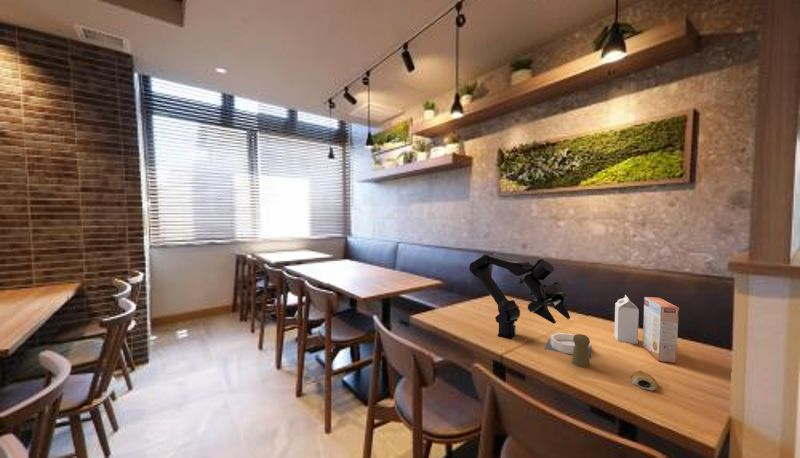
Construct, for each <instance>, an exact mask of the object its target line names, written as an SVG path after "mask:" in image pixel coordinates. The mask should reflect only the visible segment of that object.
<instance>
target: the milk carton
mask: <svg viewBox="0 0 800 458" xmlns="http://www.w3.org/2000/svg"><path fill="white" fill-rule="evenodd" d="M614 305H615V306H614V338H615V339H616V341H617V342H623V343H629V344H630V345H631V344H632V345H638V343H639V342H638V341H639V339H638V338H639V317H640V316H639V313H640V312H639V311H640V310H639V308H638V307H637V305H636V304H634V303H633V302H632V301H631V300H630V298H629V297H628V296H627V295H626V294H624V297H623V298H619V299H618V300H617V302H615V303H614Z"/></svg>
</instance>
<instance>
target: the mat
mask: <svg viewBox="0 0 800 458" xmlns="http://www.w3.org/2000/svg"><path fill="white" fill-rule="evenodd" d="M550 338H551V337H550ZM550 338H548V340H547V341H546V342H547V343H546V344H545V347H544V350H546V351H551V352H556V353H560V354H561V353H562V352H559V351H557V350H555V349H553V348H552V347H551V343H550ZM592 348H593V346H592V345H590V344H589V345H588V351H589V359H592V351H593V349H592ZM562 354H563V353H562ZM564 354H566V353H564ZM566 355H567V354H566ZM569 355H570V356H573V355H572V354H569Z"/></svg>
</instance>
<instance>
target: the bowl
mask: <svg viewBox="0 0 800 458" xmlns="http://www.w3.org/2000/svg"><path fill="white" fill-rule="evenodd" d="M575 335H576V334H570V333H567V332H566V333H565V332H562V333H560V332H557V333H553V334H551V335H550V343H551V347H552V348H553V349H555V350H557V351H559V352H558V353H560V352H562V354H565V353H566V355H570V354H572V355H571V356H573V351H574V346H575V343H574V341H573V337H574V336H575Z"/></svg>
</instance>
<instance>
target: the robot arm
mask: <svg viewBox="0 0 800 458" xmlns="http://www.w3.org/2000/svg"><path fill="white" fill-rule="evenodd" d="M492 265H493V266H497V267H500V268H503V269H505V270H507V271H509V273H511V274H512V275H514V276H516V277H520V276H523V277H520V278H519V284H518V285H521V286H522V285H525V286H526V287H527V289H528V290H529V291H530V293H529V295H530V296H531V297H533V296H534V299H532V300H531V301H530V302H529V303H528V304H527V310H528V311H529V313H533V314H536V315H538V316H539V317H542V319H543V318H544V319H545V320H546V321H548V322H549V323H552V324H554V325H555V324H556V323H557V321H556V319H555V318H554V316H553V314H552V313H551V312H550V310H549V309H548V305H551V306H553V308H554V309H555V311H556V312H558V313H559V314H561V315H562V316H563V317H564V318H566V319H567V320H570V319H571V316H570V313H569V311H568V308H567V304H566V303H567V300H568V295H567V294H566V293H565V292H564V285H563V283H562V282H561V281H559V280H558V281H556V282H553V284H551V285H548V284H546V283H545V284H543V282H542V281H545V280H546V279H547V278H548V277H550V276H551V275H552V273H554V272H555V267H554V266H553V264H552V263H549V262H548V261H546V260H544V259H543V258H540V259H538V260H537V261H536V262H535V264H531V263H530V262H529V261H528V260H513V259H509V258H505V257H502V256H498V255H495V254H493V253H485V254H483V255H482V256H481V257H479V258H477V259H476V260H474V261H472V262H470V264H469V266H468V267H469V272H470V273H471V274H472V275H473V276H474V277H475V278H477V279H478V280H480V281H481V283H482V284H483V285H484V287H485V288H486V290H487V291H488V293H489V294H490V296H491V297H492V299H493V300H494V301H495V303H496V304H497V311H498V314H497V315H496V316H495V317H494V318H495V321H496V323H498V333H497V337H502V338H507V339H511V340H512V339H513V338H514V337H515V336H516V334H517V329H516V328H517V327H516V325H515V323H516V322H518V320H519V318H520V316H521V310H520V306H519V305H518V304H517V303H516V301H515V300H514V299H512V300H510V299H508V298H507V297H506V295H505V294H504V293H503V291H502V290H501V289H500V287H499V285H498V284H497V283H496V282H495V280H494V279H493V278H492V276H491V274H490V268H489V267H490V266H492Z"/></svg>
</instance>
